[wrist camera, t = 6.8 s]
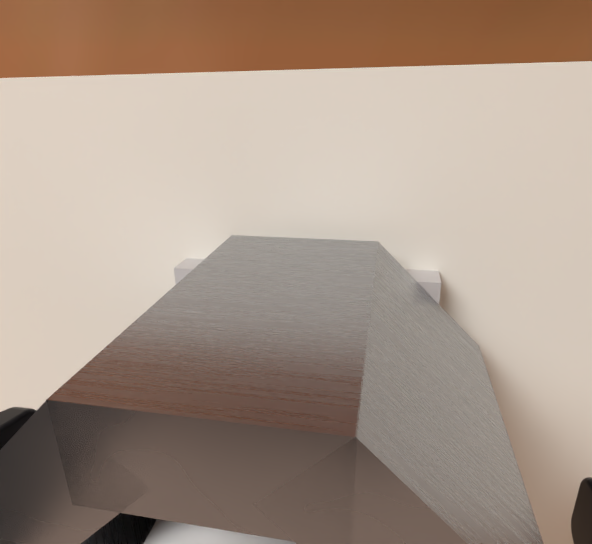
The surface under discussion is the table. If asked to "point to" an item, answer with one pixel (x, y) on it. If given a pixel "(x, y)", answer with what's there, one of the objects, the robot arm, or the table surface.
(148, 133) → the shaft stand
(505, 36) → the table surface
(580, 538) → the robot arm
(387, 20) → the table surface
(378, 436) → the tube
